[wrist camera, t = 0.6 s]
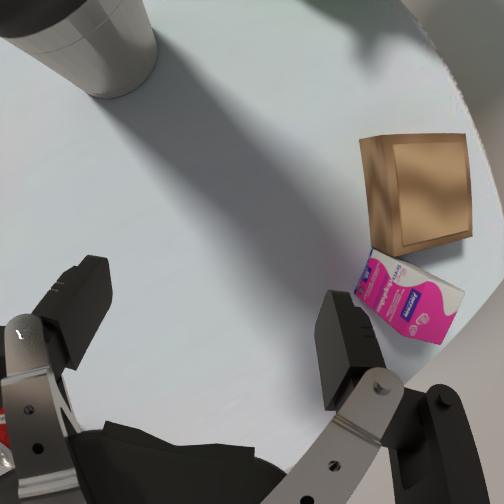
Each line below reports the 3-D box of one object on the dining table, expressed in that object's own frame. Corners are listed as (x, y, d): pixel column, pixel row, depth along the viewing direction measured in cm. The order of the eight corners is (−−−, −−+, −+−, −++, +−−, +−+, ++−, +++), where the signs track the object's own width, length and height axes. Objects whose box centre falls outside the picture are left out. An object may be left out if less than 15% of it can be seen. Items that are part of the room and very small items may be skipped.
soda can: (48, 388, 33) (14, 446, 22) (54, 422, 35) (28, 479, 23) (9, 375, 32) (-30, 425, 21) (17, 409, 33) (-14, 460, 22)
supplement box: (369, 246, 35) (430, 276, 24) (406, 261, 36) (468, 291, 25) (350, 293, 36) (403, 338, 25) (388, 304, 37) (443, 346, 26)
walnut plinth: (359, 139, 32) (383, 134, 27) (439, 136, 33) (466, 133, 28) (371, 246, 35) (395, 257, 30) (446, 229, 36) (473, 236, 31)
